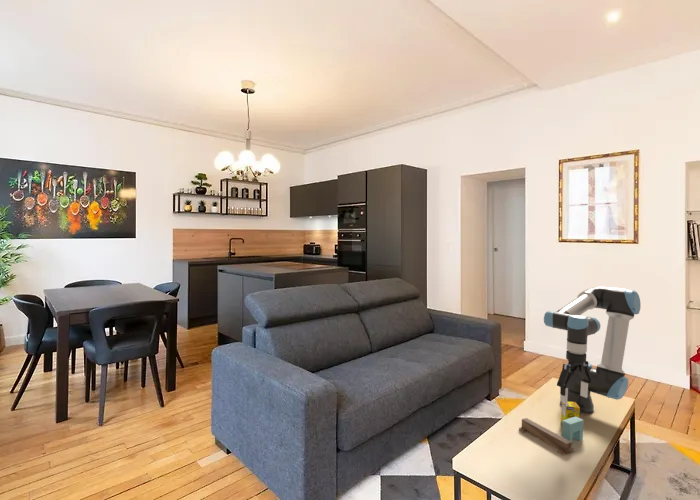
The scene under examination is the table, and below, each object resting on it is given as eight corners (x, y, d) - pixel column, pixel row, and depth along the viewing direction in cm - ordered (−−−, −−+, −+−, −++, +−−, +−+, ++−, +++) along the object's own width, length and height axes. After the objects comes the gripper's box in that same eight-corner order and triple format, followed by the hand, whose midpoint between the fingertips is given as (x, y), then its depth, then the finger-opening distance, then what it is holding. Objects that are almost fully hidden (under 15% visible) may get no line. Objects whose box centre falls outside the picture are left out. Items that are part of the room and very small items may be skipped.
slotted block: (574, 435, 171) (575, 416, 171) (582, 439, 168) (583, 419, 167) (561, 440, 167) (562, 420, 167) (569, 444, 164) (570, 424, 164)
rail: (529, 426, 179) (529, 417, 178) (574, 451, 159) (574, 441, 159) (518, 429, 176) (518, 420, 175) (563, 455, 156) (563, 445, 156)
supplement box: (579, 430, 176) (580, 407, 175) (564, 429, 177) (566, 406, 176) (574, 424, 181) (575, 401, 181) (560, 422, 183) (561, 400, 182)
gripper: (586, 345, 174) (583, 391, 175) (549, 352, 163) (546, 400, 164) (602, 350, 167) (600, 397, 168) (565, 358, 157) (563, 408, 158)
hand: (573, 399), depth 166 cm, fingers open, 13 cm apart
